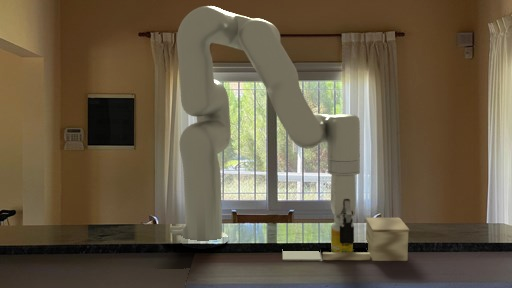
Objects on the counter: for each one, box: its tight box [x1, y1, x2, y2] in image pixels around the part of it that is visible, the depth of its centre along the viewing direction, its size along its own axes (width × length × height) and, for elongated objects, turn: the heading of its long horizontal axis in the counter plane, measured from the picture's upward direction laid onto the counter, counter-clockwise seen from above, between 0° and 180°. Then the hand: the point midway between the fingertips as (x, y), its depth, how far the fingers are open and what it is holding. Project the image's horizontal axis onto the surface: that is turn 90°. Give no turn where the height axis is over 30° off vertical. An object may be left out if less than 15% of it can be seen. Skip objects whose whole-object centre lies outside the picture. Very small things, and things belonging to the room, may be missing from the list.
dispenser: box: [318, 217, 410, 262], centre depth 117 cm, size 21×10×8 cm, turn 87°
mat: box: [282, 250, 321, 261], centre depth 118 cm, size 9×9×1 cm
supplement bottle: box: [330, 215, 354, 252], centre depth 117 cm, size 5×5×10 cm
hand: (344, 236), depth 117 cm, fingers open, 9 cm apart
